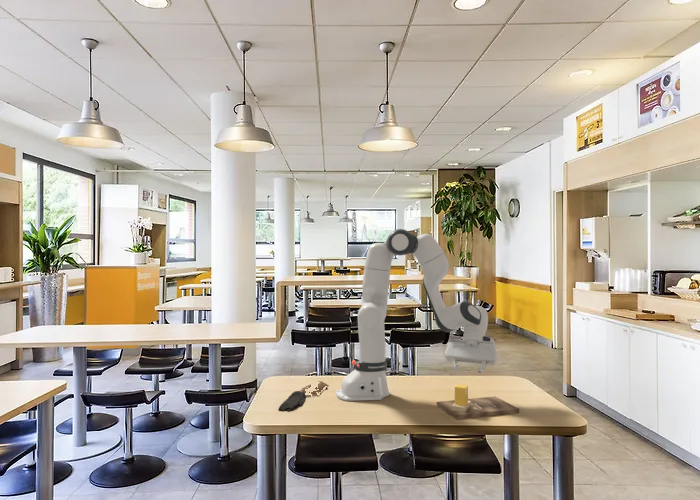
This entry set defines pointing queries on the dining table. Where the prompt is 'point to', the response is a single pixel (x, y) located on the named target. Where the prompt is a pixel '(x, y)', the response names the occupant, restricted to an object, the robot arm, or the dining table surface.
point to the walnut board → (479, 408)
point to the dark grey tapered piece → (293, 401)
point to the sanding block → (461, 398)
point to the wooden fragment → (320, 387)
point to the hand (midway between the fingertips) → (467, 370)
